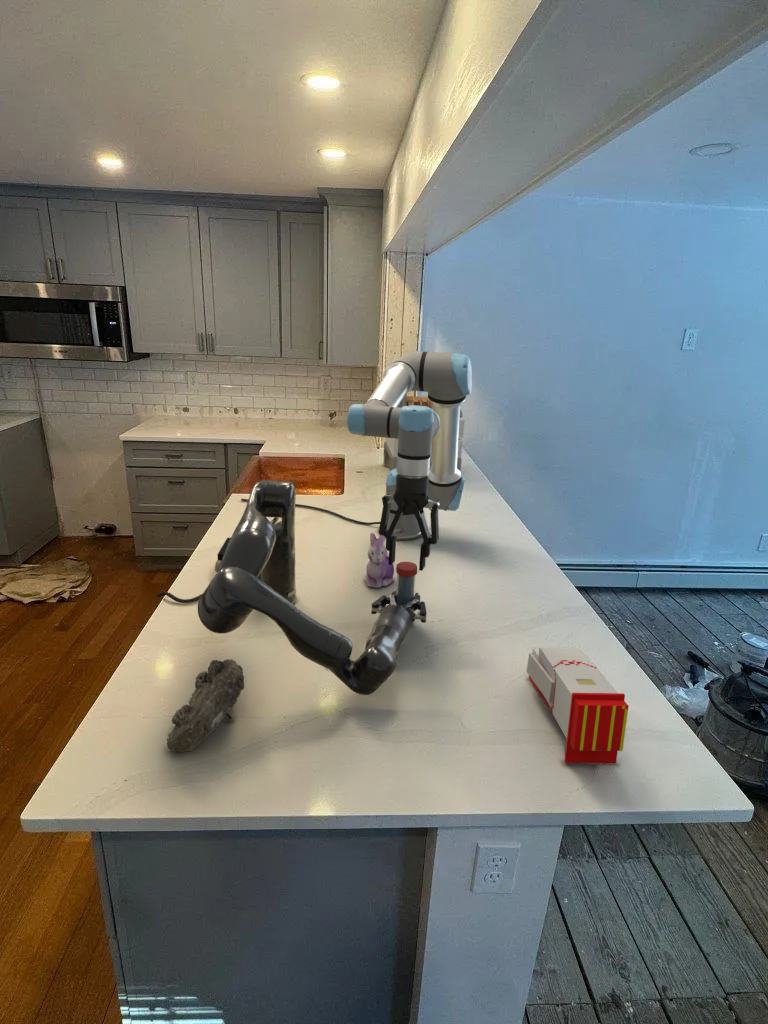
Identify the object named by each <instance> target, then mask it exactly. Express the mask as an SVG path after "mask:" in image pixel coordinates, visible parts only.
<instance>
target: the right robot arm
mask: <svg viewBox="0 0 768 1024" xmlns="http://www.w3.org/2000/svg"><path fill="white" fill-rule="evenodd" d="M471 362H472V361H471V359H470V357H469V355H467V354H462V353H456V352H436V351H424V350H422V351H421V350H418V351H412V352H409V353H405V354H403V355H401V356H399V357H398V358H396V359H394V360H393V361H392V362H390V363H389V364H388V365H387V367H386V368H385V369H384V372H383V375H382V380H381V381H380V383H379V384H378V385H377V387H376V388H375V389H374V391H373V393H372V394H371V395H370V397H369V398H368V399H367V401H366V402H365V403H364V404H363V403H353V404H351V405H350V406H349V409H348V411H347V417H346V424H347V425H346V427H347V429H348V432H349V433H350V434H352V435H357V436H362V437H373V438H384V439H385V438H395V439H398V455H397V468H396V469H393V470H391V471H390V470H389V472H388V473H387V475H386V482H385V494H384V495H383V496H382V497H381V502H382V510H381V517H380V521H371V522H367V521H360V520H357V519H354V518H353V519H352V518H349V517H347V516H344V515H342V514H339V513H337V512H335V511H332V510H328V509H325V508H321V507H316V506H313V505H308V504H307V505H306V504H299V503H296V504H295V507H300V508H307V509H313V510H317V511H320V512H325V513H327V514H331V515H334V516H337V517H339V518H341V519H343V520H346V521H349V522H352V523H355V524H360V525H367V526H373V525H379V526H378V534H379V536H380V535H383V536H385V549H386V551H388V557H389V564H388V565H392V564H393V565H394V563H395V561H396V550H397V549H396V547H397V541H410V540H415V539H418V538H420V537H421V538H422V543H421V544H420V549H419V551H420V553H419V566H418V571H420V572H421V571H423V570H424V569H425V567H426V559H427V558H429V556H430V555H431V550H432V549H431V546H432V545H436V544H437V543H438V541H439V540H440V527H439V526H440V525H439V510H442V511H445V512H449V511H451V512H456V511H457V510H458V509H459V508H460V504H461V501H462V495H463V491H464V486H465V482H466V478H465V477H462V473H461V472H462V471H461V472H460V471H459V470H458V469H457V455H458V438H459V422H460V408H461V404H463V403H464V402H465V401H466V400H467V396H469V395H471V394H472V390H473V368H472V363H471ZM411 391H413V392H425V393H427V397H428V399H429V401H431V402H432V403H433V408H432V409H431V408H429V407H426V406H417V405H409V406H404V407H402V408H398V405H399V404H400V402H401V400H402V399H403V397H404V395H405V394H406V393H407V394H408V393H410V392H411ZM431 441H432V443H431ZM430 450H431V465H430ZM248 500H249V498H248V499H247V498H241V499H240V501H242V502H248ZM424 509H428V510H429V511H430V513H429V514H430V529H431V530H430V529H429V526H428V522H427V519H426V516H425V515H426V514H425V510H424Z"/></svg>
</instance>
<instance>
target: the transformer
mask: <svg viewBox="0 0 768 1024" xmlns="http://www.w3.org/2000/svg"><path fill="white" fill-rule="evenodd" d="M407 394H408V393H406V394H405V395H404V397H403V399H402V400H401V402H400V404H399V405H398V408H402V407H404V406H409V405H417V406H426V407H429V408H431V409H432V408H433V403H432V402H431V401H429V399H428V396H415V395H414V396H413V395H412V396H411V395H407ZM464 429H465V419H464V418H463V411H462V408H461V407H460V422H459V438H458V455H457V469H458V470H459V471H460V472H462V461H463V460H462V453H463V442H464V441H463V440H462V439H463V438H464V431H465V430H464ZM431 443H432V441H431ZM397 455H398V439H395V438H385V437H384V442H383V466H384V467H388V468H389V472H390V471H391V470H393V469H396V468H397ZM430 466H431V450H430Z"/></svg>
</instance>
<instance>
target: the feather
mask: <svg viewBox="0 0 768 1024" xmlns="http://www.w3.org/2000/svg"><path fill="white" fill-rule="evenodd" d="M277 520H278V518H275V517H273V519H272V520H271V521H270V523H271V524H272V525H273V524H276V521H277Z"/></svg>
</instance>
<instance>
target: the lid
mask: <svg viewBox="0 0 768 1024" xmlns="http://www.w3.org/2000/svg"><path fill="white" fill-rule="evenodd" d="M395 566H396V567H395V572H396V574H398V575H400V576H403V577H412V576H415V577H416V575H418V565H417V564H416V563H414V562H412V561H400V562H397V564H396V565H395Z"/></svg>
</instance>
